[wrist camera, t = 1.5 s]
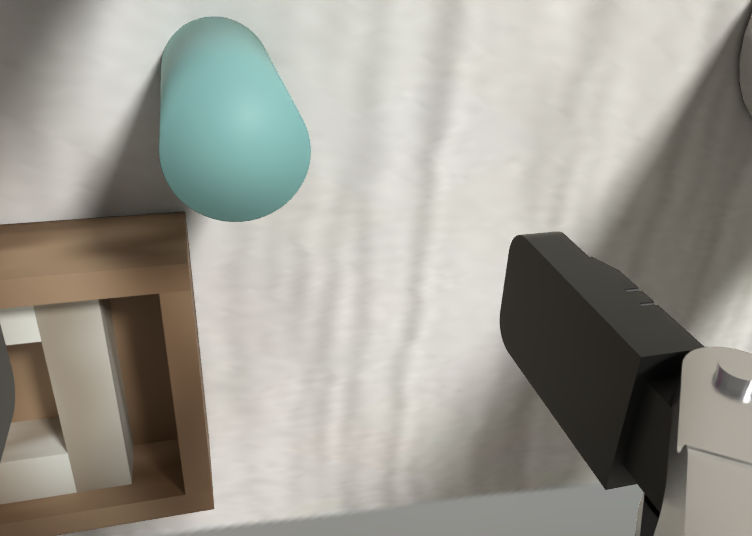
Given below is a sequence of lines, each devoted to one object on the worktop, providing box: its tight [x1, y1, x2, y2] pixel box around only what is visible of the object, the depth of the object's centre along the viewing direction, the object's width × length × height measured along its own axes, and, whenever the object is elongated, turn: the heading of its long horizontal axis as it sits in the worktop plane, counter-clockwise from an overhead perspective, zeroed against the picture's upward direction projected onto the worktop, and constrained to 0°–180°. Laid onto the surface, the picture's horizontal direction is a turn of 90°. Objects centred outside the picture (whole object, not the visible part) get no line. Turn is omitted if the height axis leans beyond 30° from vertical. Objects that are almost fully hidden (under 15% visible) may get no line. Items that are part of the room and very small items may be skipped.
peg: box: [159, 17, 311, 222], centre depth 21 cm, size 4×4×8 cm
